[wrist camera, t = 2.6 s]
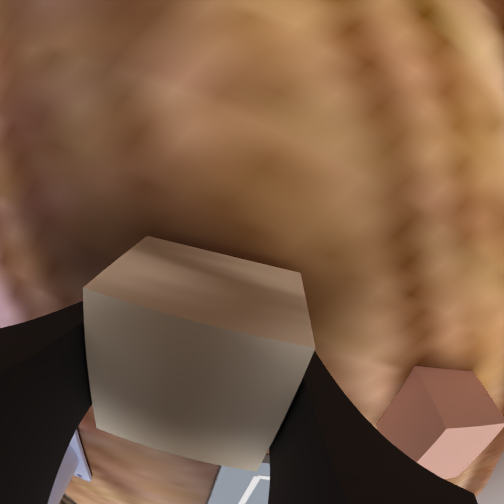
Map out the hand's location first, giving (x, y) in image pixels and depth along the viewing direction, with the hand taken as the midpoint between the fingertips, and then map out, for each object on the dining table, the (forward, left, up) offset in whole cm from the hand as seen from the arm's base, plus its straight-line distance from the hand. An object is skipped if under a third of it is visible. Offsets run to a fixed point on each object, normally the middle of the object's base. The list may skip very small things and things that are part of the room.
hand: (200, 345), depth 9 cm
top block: (+11, -3, -3) cm, 12 cm away
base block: (0, 0, -2) cm, 2 cm away
